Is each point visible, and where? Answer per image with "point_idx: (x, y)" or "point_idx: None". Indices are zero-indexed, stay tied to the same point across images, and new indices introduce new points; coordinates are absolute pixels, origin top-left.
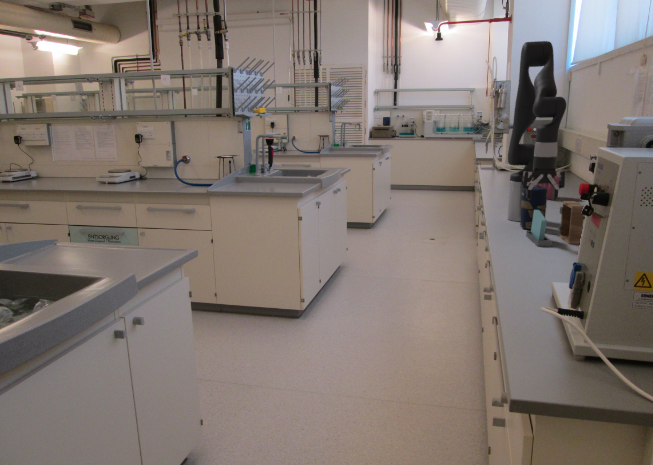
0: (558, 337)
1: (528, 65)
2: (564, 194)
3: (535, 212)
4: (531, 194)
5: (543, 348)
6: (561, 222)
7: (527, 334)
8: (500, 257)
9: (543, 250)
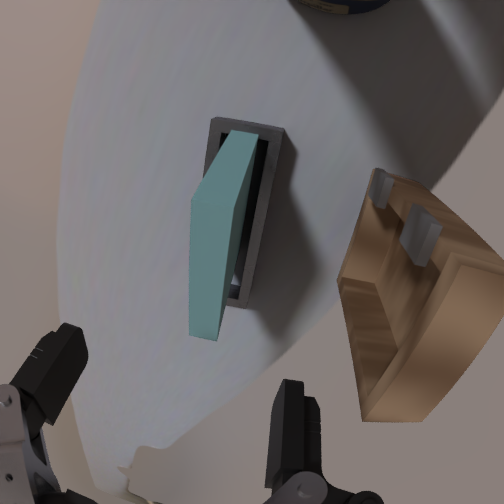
0: (125, 484)
1: None
2: None
3: (190, 235)
4: (67, 395)
5: (113, 483)
6: (395, 202)
7: (104, 475)
8: None
9: None
